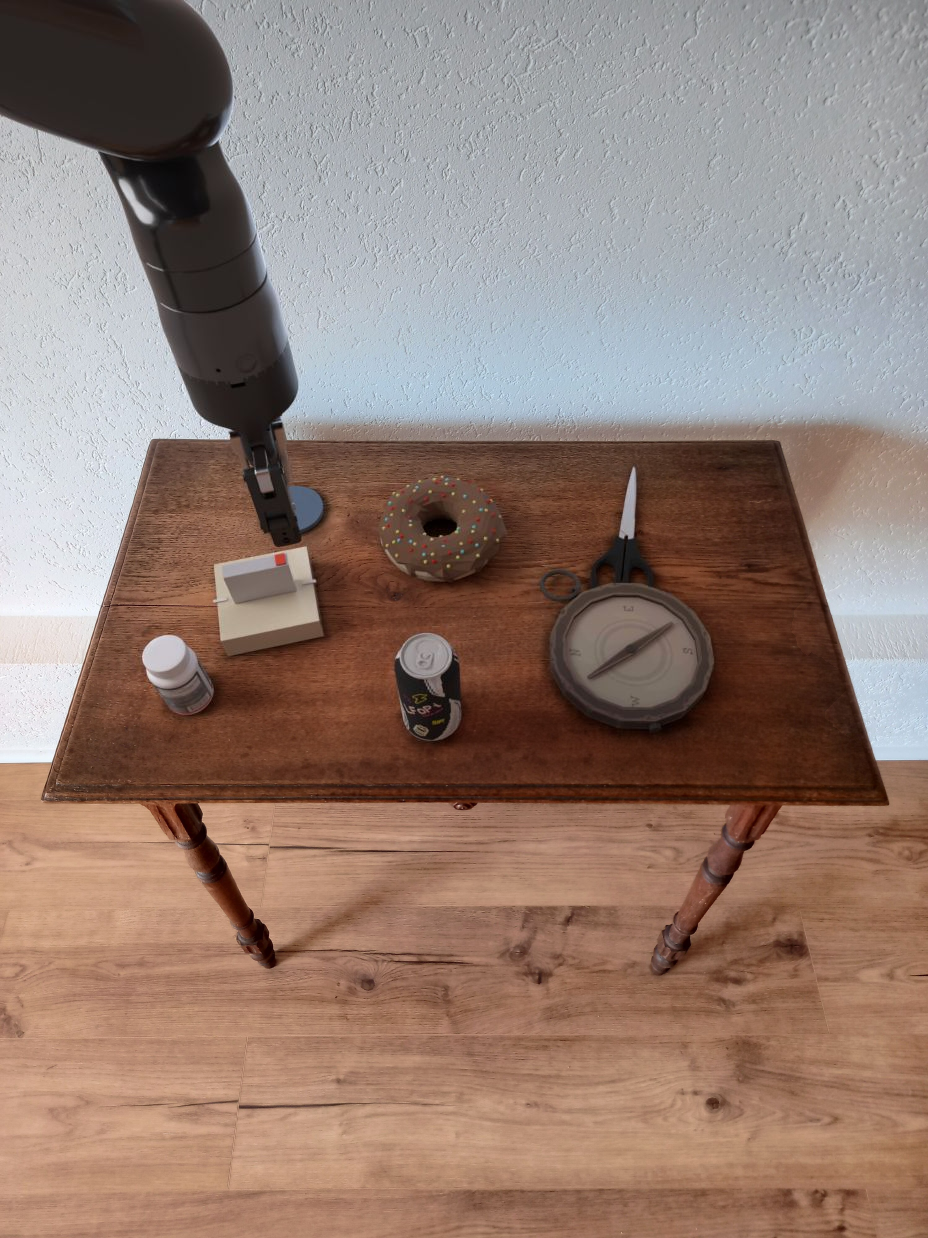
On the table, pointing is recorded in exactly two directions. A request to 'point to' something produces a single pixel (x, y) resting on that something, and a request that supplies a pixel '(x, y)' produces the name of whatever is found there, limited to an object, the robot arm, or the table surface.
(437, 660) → the beverage can
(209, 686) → the pill bottle
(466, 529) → the donut
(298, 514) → the coaster
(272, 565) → the tap handle
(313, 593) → the base
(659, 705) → the compass
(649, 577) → the scissors
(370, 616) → the table surface
